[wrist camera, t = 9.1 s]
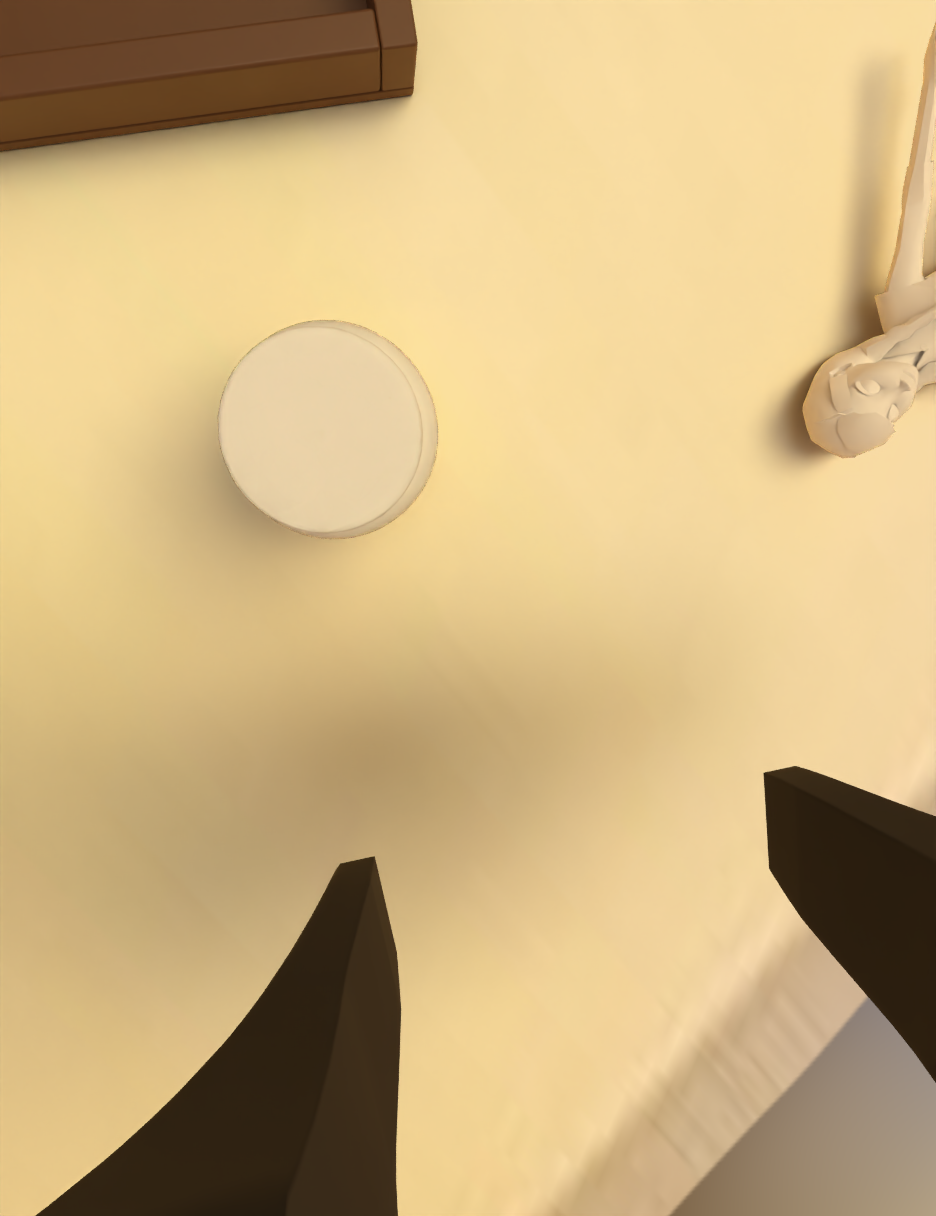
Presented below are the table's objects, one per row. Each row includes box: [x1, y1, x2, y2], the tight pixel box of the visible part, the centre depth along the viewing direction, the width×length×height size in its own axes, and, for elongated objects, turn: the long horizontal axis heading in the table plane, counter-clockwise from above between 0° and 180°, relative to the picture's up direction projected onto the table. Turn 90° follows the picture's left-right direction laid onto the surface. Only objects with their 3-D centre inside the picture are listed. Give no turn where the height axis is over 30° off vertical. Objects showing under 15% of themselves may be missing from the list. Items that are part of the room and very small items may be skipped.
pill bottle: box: [218, 320, 438, 539], centre depth 16 cm, size 4×4×8 cm
